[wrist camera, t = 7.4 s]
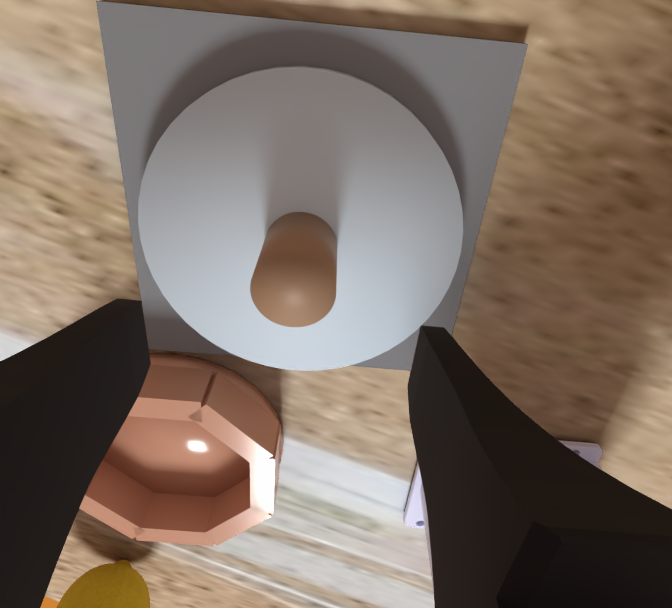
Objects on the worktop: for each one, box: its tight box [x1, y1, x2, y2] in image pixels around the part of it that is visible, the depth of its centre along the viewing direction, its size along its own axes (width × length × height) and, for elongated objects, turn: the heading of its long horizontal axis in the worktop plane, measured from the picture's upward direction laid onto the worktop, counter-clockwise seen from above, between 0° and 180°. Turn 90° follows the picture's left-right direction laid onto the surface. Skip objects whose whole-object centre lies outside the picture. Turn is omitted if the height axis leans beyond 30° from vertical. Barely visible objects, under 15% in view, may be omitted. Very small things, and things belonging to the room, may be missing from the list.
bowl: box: [79, 354, 283, 546], centre depth 25 cm, size 11×11×3 cm
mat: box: [96, 1, 528, 371], centre depth 19 cm, size 14×14×1 cm
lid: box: [138, 66, 463, 371], centre depth 18 cm, size 12×12×4 cm
